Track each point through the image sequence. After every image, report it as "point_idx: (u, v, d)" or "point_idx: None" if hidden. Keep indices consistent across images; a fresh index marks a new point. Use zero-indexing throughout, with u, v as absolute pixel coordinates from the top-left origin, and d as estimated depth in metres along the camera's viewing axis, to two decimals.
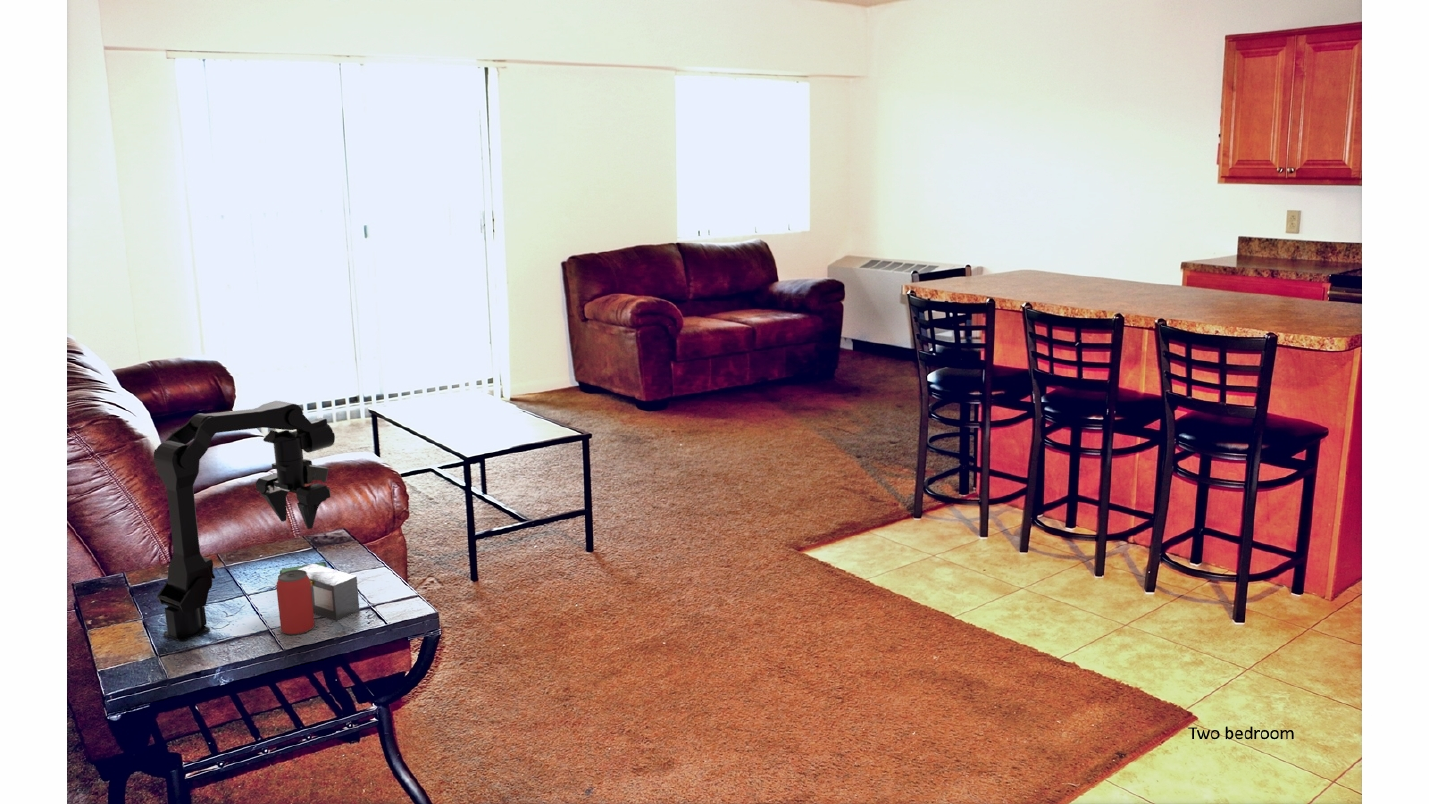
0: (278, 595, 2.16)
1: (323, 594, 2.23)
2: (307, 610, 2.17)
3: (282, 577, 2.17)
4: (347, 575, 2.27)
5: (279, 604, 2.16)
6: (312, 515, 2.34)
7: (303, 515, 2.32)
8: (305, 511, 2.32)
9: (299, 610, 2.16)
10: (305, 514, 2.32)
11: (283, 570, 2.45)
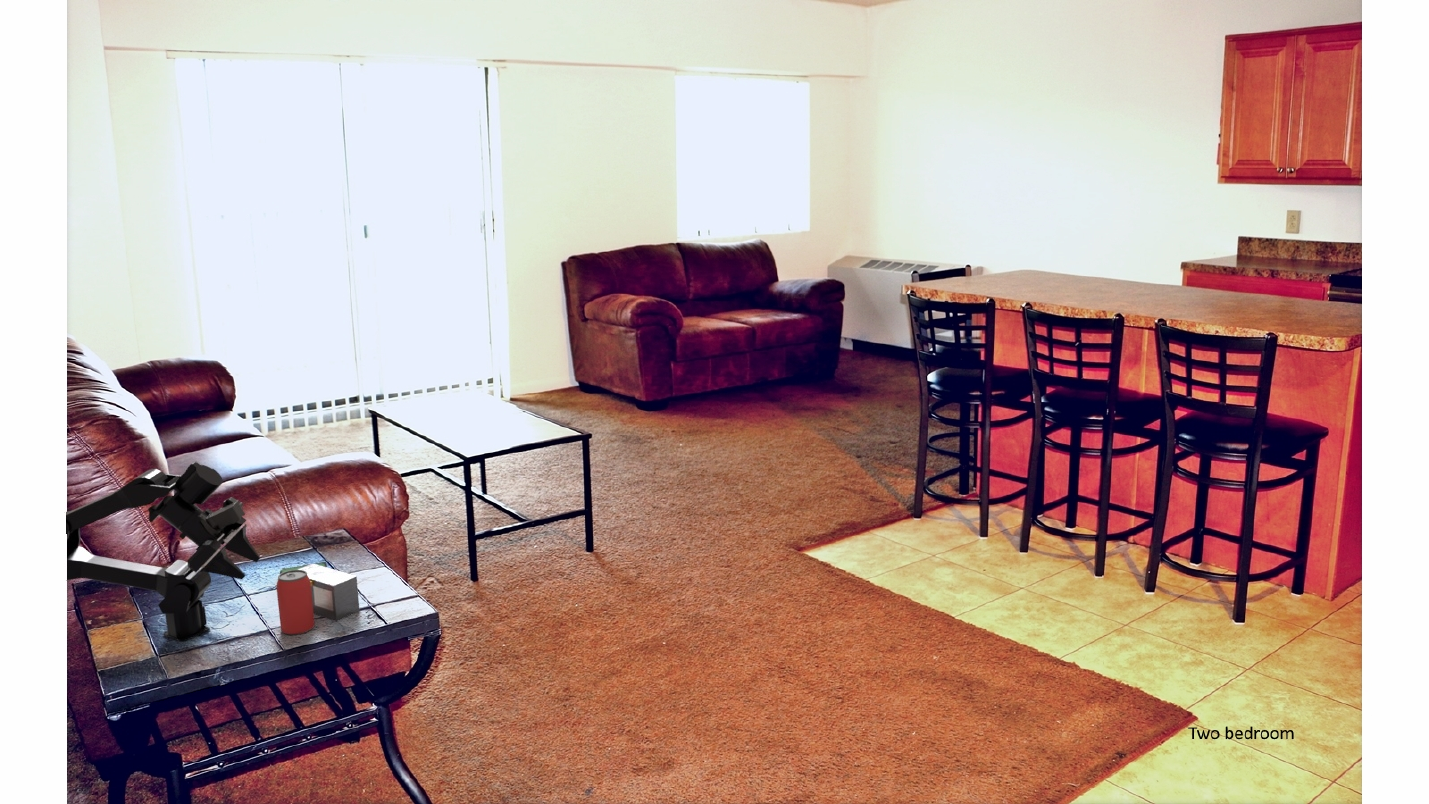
0: (278, 595, 2.16)
1: (323, 594, 2.23)
2: (307, 610, 2.17)
3: (282, 577, 2.17)
4: (347, 575, 2.27)
5: (279, 604, 2.16)
6: (229, 568, 2.10)
7: None
8: (214, 571, 2.09)
9: (299, 610, 2.16)
10: (218, 573, 2.10)
11: (283, 570, 2.45)
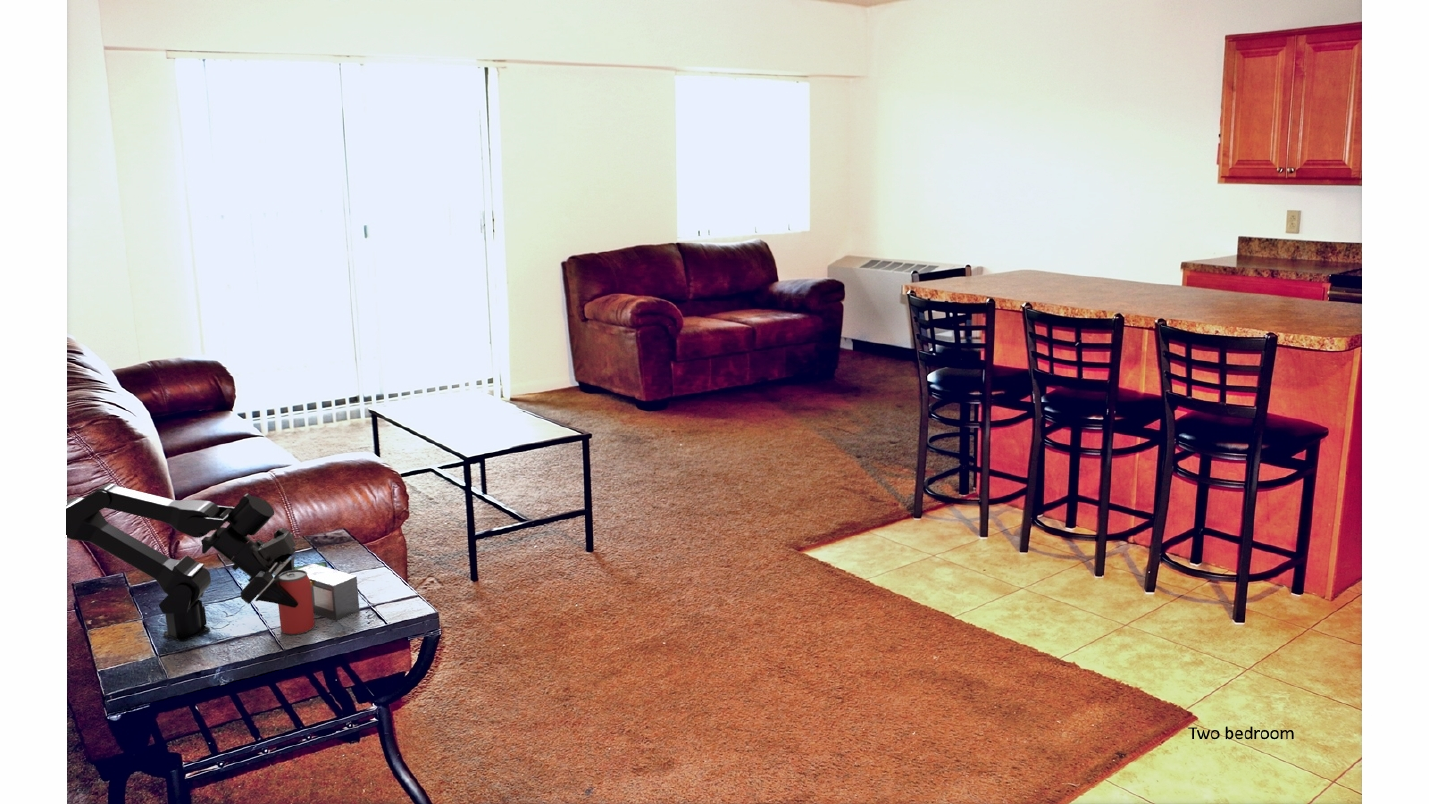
0: None
1: (323, 594, 2.23)
2: (307, 610, 2.17)
3: (282, 577, 2.17)
4: (347, 575, 2.27)
5: None
6: (283, 597, 2.13)
7: None
8: (268, 600, 2.13)
9: (299, 610, 2.16)
10: (272, 601, 2.13)
11: None
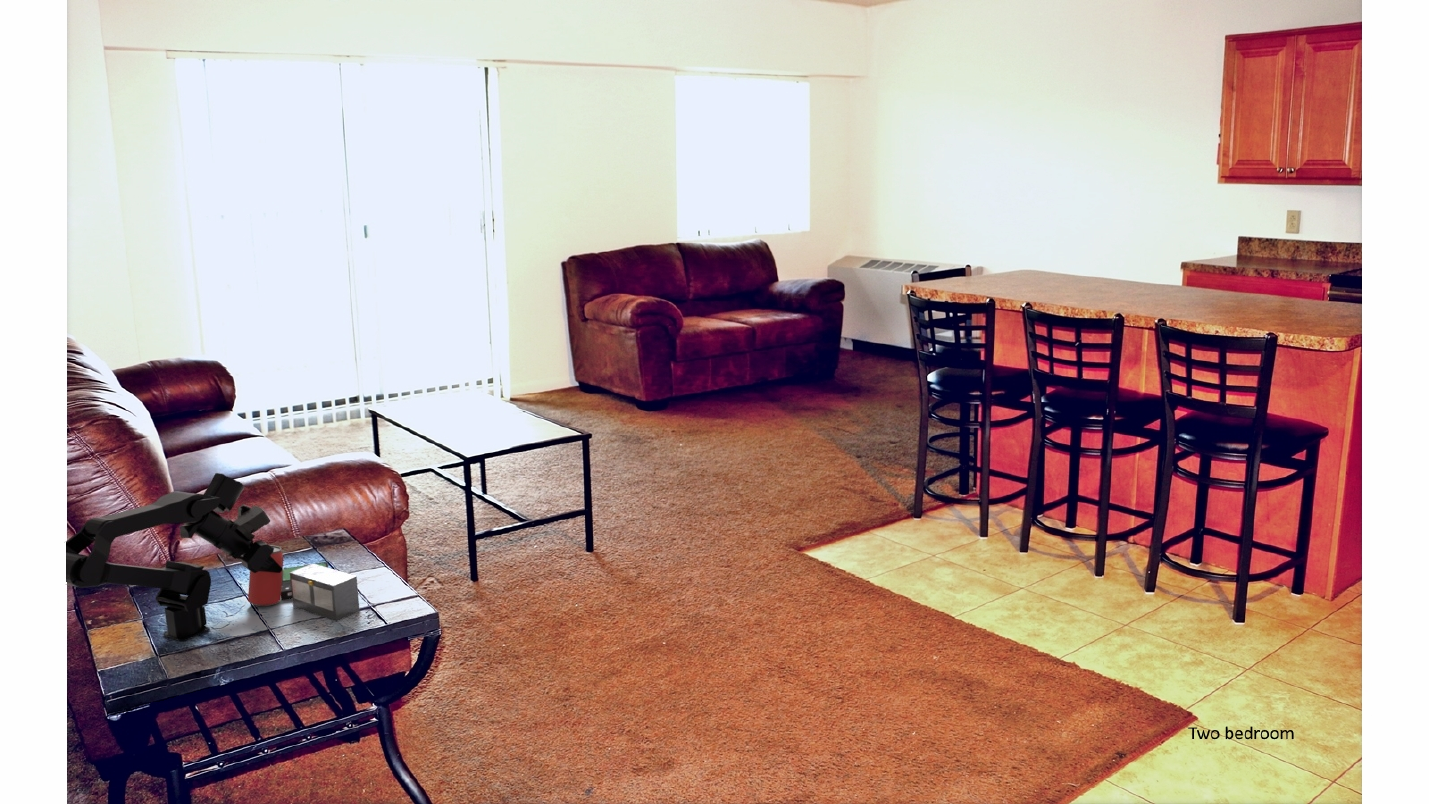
0: None
1: (323, 594, 2.23)
2: (281, 582, 2.32)
3: None
4: (347, 575, 2.27)
5: (257, 576, 2.28)
6: (272, 564, 2.27)
7: None
8: (260, 569, 2.25)
9: (278, 581, 2.30)
10: (263, 570, 2.25)
11: (284, 570, 2.46)
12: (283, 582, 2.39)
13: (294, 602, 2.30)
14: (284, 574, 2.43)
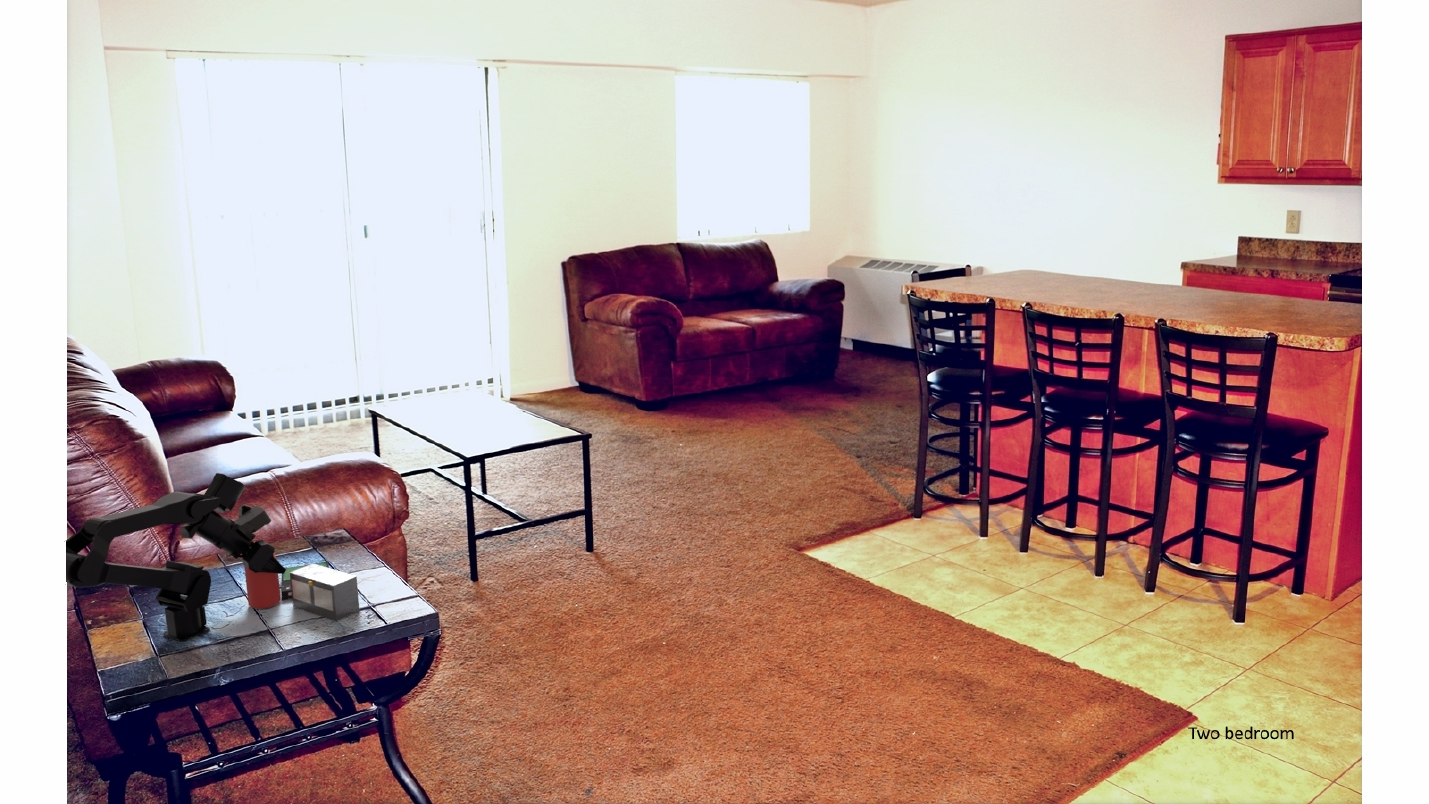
0: (252, 573, 2.27)
1: (323, 594, 2.23)
2: (278, 583, 2.31)
3: None
4: (347, 575, 2.27)
5: (252, 582, 2.27)
6: (275, 565, 2.26)
7: None
8: (264, 570, 2.24)
9: (274, 583, 2.29)
10: (267, 571, 2.25)
11: None
12: (284, 582, 2.39)
13: (294, 602, 2.30)
14: (285, 574, 2.43)
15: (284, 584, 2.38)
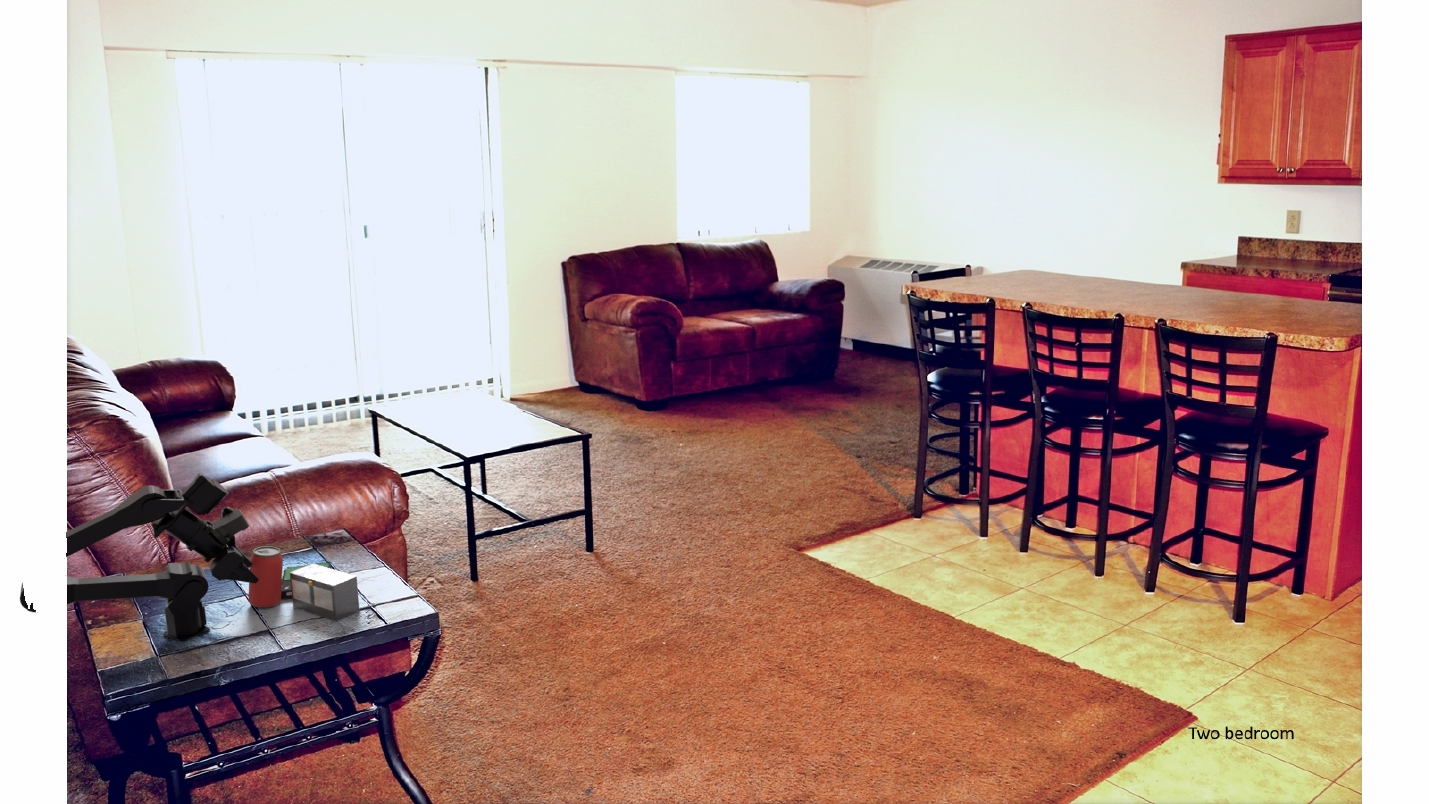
0: (257, 571, 2.27)
1: (323, 594, 2.23)
2: (281, 583, 2.31)
3: (258, 554, 2.28)
4: (347, 575, 2.27)
5: None
6: (246, 573, 2.17)
7: None
8: (232, 578, 2.15)
9: (278, 583, 2.30)
10: (235, 579, 2.16)
11: (287, 569, 2.46)
12: (284, 581, 2.39)
13: (294, 602, 2.30)
14: (287, 573, 2.44)
15: (284, 584, 2.38)
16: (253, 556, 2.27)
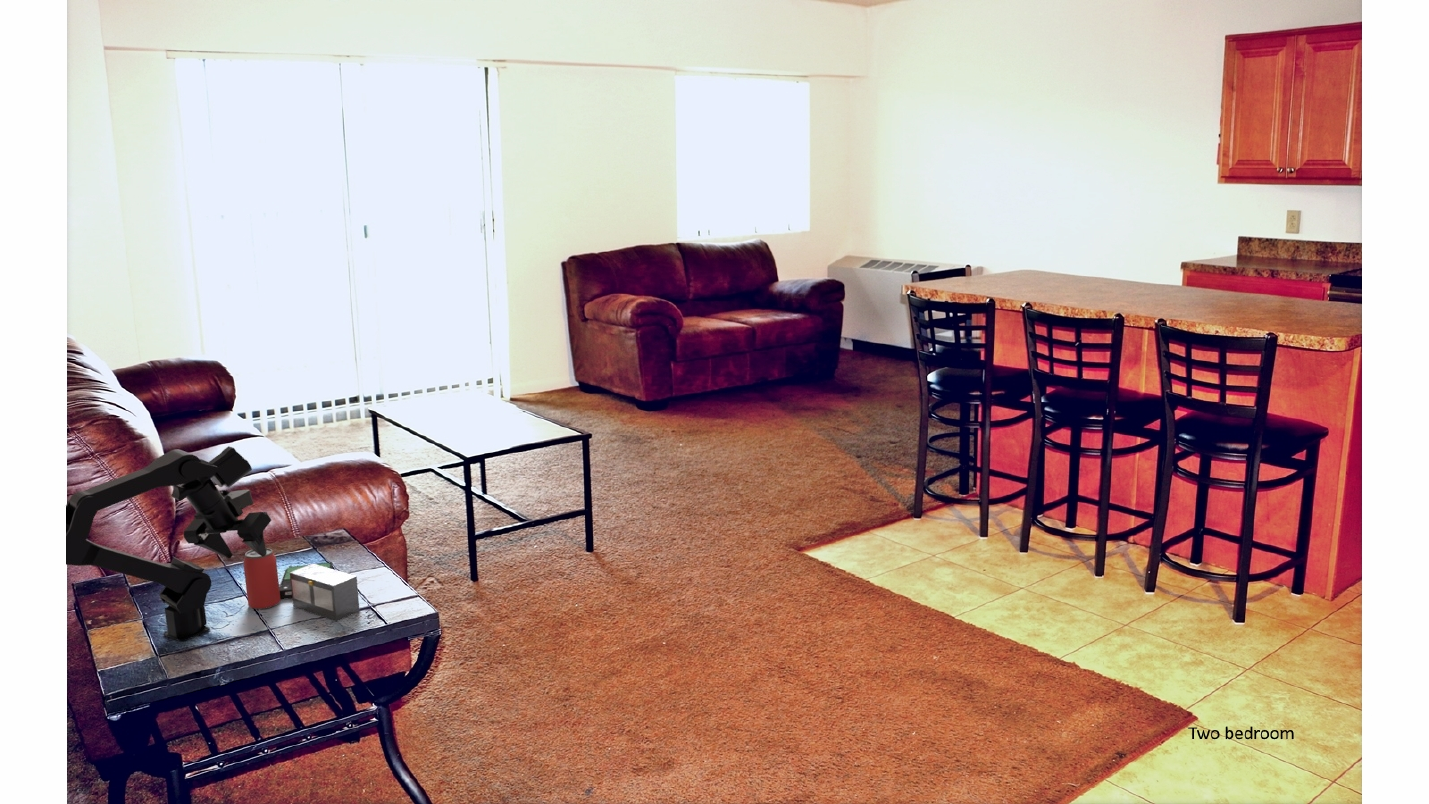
0: (252, 573, 2.27)
1: (323, 594, 2.23)
2: (278, 582, 2.31)
3: (250, 556, 2.28)
4: (347, 575, 2.27)
5: (252, 581, 2.27)
6: (261, 543, 2.23)
7: (254, 548, 2.21)
8: (254, 544, 2.20)
9: (274, 582, 2.30)
10: (255, 546, 2.21)
11: (289, 568, 2.46)
12: (284, 581, 2.40)
13: (294, 602, 2.30)
14: (288, 573, 2.44)
15: (283, 583, 2.38)
16: (245, 559, 2.28)
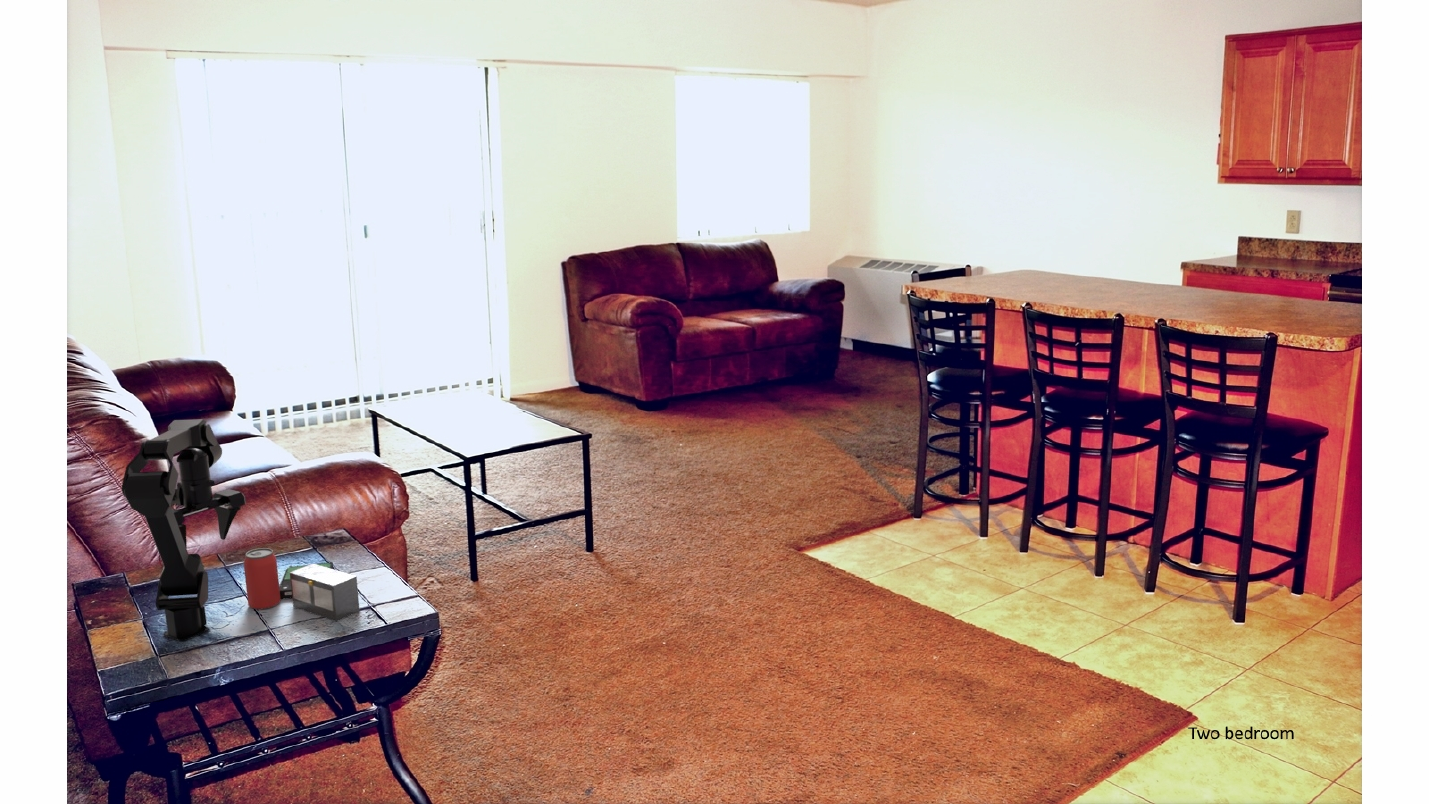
0: (252, 573, 2.27)
1: (323, 594, 2.23)
2: (278, 583, 2.31)
3: (251, 556, 2.28)
4: (347, 575, 2.27)
5: (252, 582, 2.27)
6: None
7: (230, 523, 2.33)
8: None
9: (274, 583, 2.30)
10: None
11: (289, 568, 2.46)
12: (284, 581, 2.40)
13: (294, 602, 2.30)
14: (288, 573, 2.44)
15: (283, 583, 2.38)
16: (246, 559, 2.27)
